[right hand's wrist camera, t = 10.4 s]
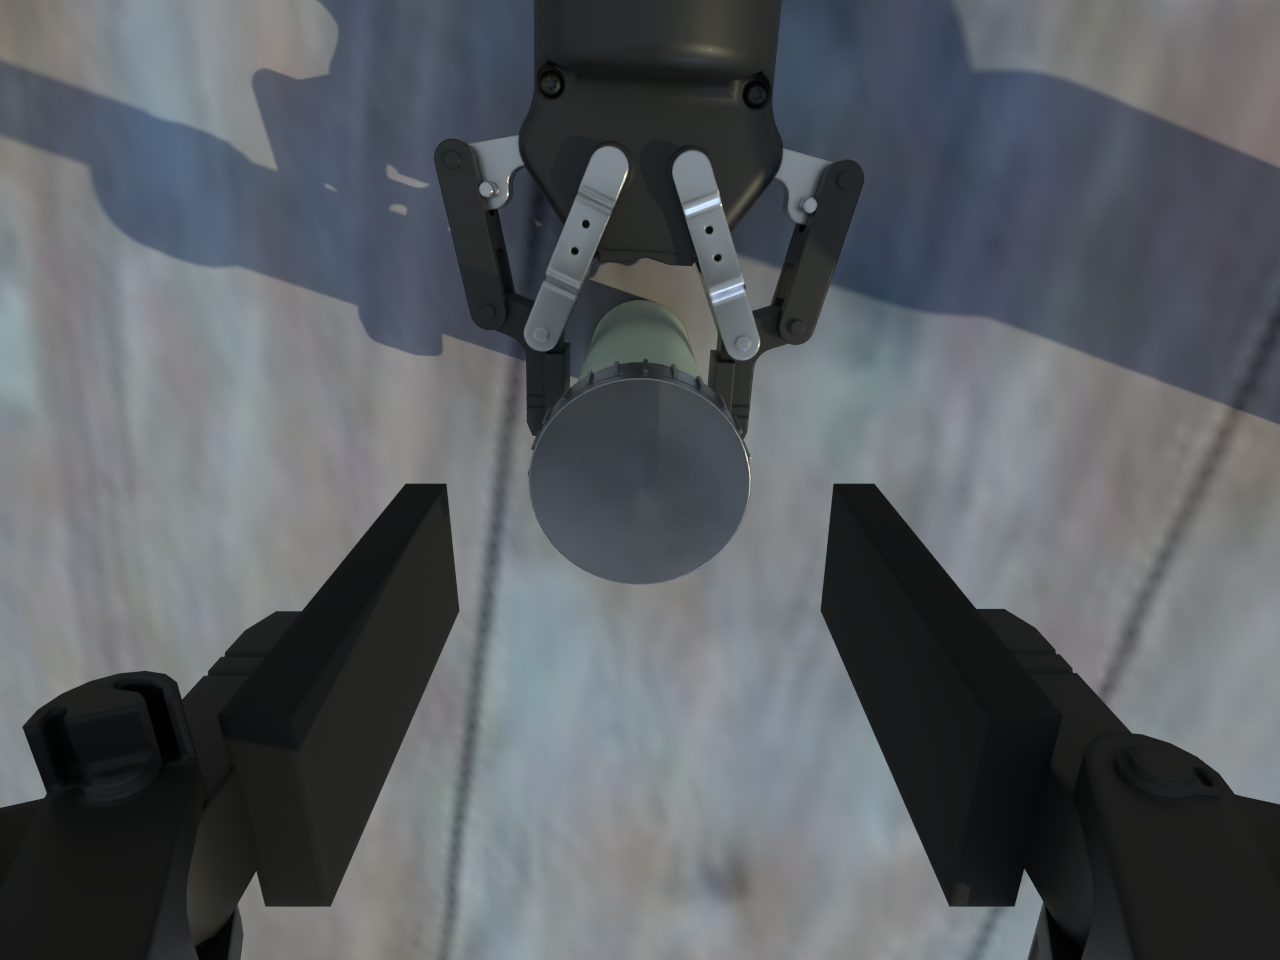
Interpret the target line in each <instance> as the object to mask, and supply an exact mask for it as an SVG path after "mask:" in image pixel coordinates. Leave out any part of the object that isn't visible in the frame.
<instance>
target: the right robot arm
mask: <svg viewBox="0 0 1280 960" xmlns="http://www.w3.org/2000/svg"><path fill="white" fill-rule="evenodd" d="M458 613H459V603H458V593H457V583H456V574H455V564H454V554H453V544H452V534H451V524H450V515H449V505H448V495H447V485H446V484H405V485H404V487H403V488H402V489H401V490H400V491H399V493H398V494H397V495H396V496H395V498H394V499H393V500H392V501H391V502H390V504H389V505H388V506H387V507H386V509H385V510H384V511H383V512H382V514H381V515H380V516H379V517H378V518H377V520H376V521H375V522H374V523H373V525H372V526H371V527H370V528H369V530H368V531H367V532H366V533H365V534H364V536H363V537H362V538H361V539H360V541H359V542H358V543H357V544H356V545H355V547H354V548H353V549H352V550H351V552H350V553H349V554H348V555H347V557H346V558H345V559H344V560H343V561H342V563H341V564H340V565H339V566H338V568H337V569H336V570H335V571H334V573H333V574H332V575H331V576H330V577H329V579H328V580H327V581H326V582H325V584H324V585H323V586H322V587H321V588H320V590H319V591H318V592H317V593H316V595H315V596H314V597H313V598H312V600H311V601H310V602H309V603H308V604H307V606H306V607H305V608H304V609H303V611H276V612H274V613H273V614H271V615H270V616H268V617H266V618H265V619H263V620H261V621H260V622H258V623H256V624H255V625H253V626H252V627H250V628H248V629H247V630H245V631H244V632H243V633H242V634H241V636H240V637H239V638H238V639H237V640H236V641H235V642H234V643H233V644H232V645H231V647H230V648H229V649H228V650H227V651H226V652H225V657H221V658H220V659H219V660H218V661H217V662H216V663H215V664H214V665H213V666H212V667H211V669H210V670H209V671H208V676H203V677H202V678H201V680H200V681H199V682H198V683H197V684H196V685H195V686H194V687H193V688H192V689H191V691H190V692H189V693H188V694H187V695H186V696H185V697H184V698H183V699H181V695H180V691H179V688H178V684H177V682H176V681H174V680H173V679H172V678H170V677H169V676H167V675H166V674H162V673H155V672H149V671H140V672H129V673H119V674H116V675H112V676H108V677H104V678H101V679H97V680H93V681H90V682H88V683H85V684H83V685H81V686H79V687H76V688H74V689H72V690H69V691H67V692H65V693H63V694H61V695H59V696H58V697H56V698H55V699H53V700H52V701H50V702H49V703H47V704H46V705H44V706H43V707H41V708H40V709H38V710H37V711H36V712H35V713H34V714H33V716H32V717H31V718H30V719H29V720H28V721H27V722H26V723H25V724H24V726H23V730H24V732H25V735H26V738H27V740H28V743H29V746H30V749H31V751H32V754H33V757H34V759H35V762H36V765H37V767H38V770H39V773H40V775H41V778H42V781H43V783H44V786H45V789H46V792H47V794H46V796H45V798H43V799H39V800H34V801H30V802H25V803H21V804H16V805H12V806H7V807H2V808H0V960H240V958H241V950H242V942H243V928H242V921H241V916H240V912H239V909H238V905H237V904H238V902H239V900H240V899H241V897H242V895H243V893H244V892H245V890H246V888H247V886H248V885H249V883H250V881H251V879H252V877H253V876H254V874H255V872H256V871H257V875H258V879H259V883H260V887H261V891H262V895H263V899H264V902H265V906H331V904H332V902H333V899H334V897H335V895H336V893H337V890H338V888H339V886H340V883H341V881H342V879H343V876H344V874H345V872H346V870H347V867H348V865H349V863H350V860H351V858H352V856H353V854H354V851H355V849H356V847H357V844H358V842H359V840H360V837H361V835H362V833H363V831H364V828H365V826H366V824H367V821H368V819H369V817H370V814H371V812H372V810H373V808H374V805H375V803H376V801H377V798H378V796H379V794H380V792H381V789H382V787H383V785H384V782H385V780H386V778H387V775H388V773H389V771H390V769H391V766H392V764H393V762H394V759H395V757H396V755H397V753H398V750H399V748H400V746H401V743H402V741H403V739H404V736H405V734H406V732H407V730H408V727H409V725H410V723H411V720H412V718H413V716H414V714H415V711H416V709H417V707H418V704H419V702H420V700H421V697H422V695H423V693H424V691H425V688H426V686H427V684H428V681H429V679H430V677H431V674H432V672H433V670H434V668H435V665H436V663H437V661H438V658H439V656H440V654H441V652H442V649H443V647H444V645H445V642H446V640H447V638H448V635H449V633H450V631H451V629H452V626H453V624H454V622H455V619H456V617H457V615H458ZM821 613H822V615H823V617H824V619H825V622H826V624H827V626H828V629H829V631H830V633H831V635H832V638H833V640H834V642H835V645H836V647H837V649H838V652H839V654H840V656H841V658H842V661H843V663H844V665H845V668H846V670H847V672H848V674H849V677H850V679H851V681H852V684H853V686H854V688H855V691H856V693H857V695H858V697H859V700H860V702H861V704H862V707H863V709H864V711H865V714H866V716H867V718H868V720H869V723H870V725H871V727H872V730H873V732H874V734H875V736H876V739H877V741H878V743H879V746H880V748H881V750H882V753H883V755H884V757H885V759H886V762H887V764H888V766H889V769H890V771H891V773H892V775H893V778H894V780H895V782H896V785H897V787H898V789H899V792H900V794H901V796H902V798H903V801H904V803H905V805H906V808H907V810H908V812H909V814H910V817H911V819H912V821H913V824H914V826H915V828H916V831H917V833H918V835H919V837H920V840H921V842H922V844H923V847H924V849H925V851H926V854H927V856H928V858H929V860H930V863H931V865H932V867H933V870H934V872H935V874H936V876H937V879H938V881H939V883H940V886H941V888H942V890H943V893H944V895H945V897H946V899H947V902H948V904H949V906H1015V902H1016V899H1017V895H1018V891H1019V887H1020V883H1021V879H1022V875H1023V871H1024V868H1025V870H1026V872H1027V874H1028V875H1029V877H1030V879H1031V881H1032V882H1033V884H1034V886H1035V888H1036V889H1037V891H1038V893H1039V895H1040V896H1041V898H1042V900H1043V905H1042V909H1041V912H1040V916H1039V920H1038V923H1037V927H1036V931H1035V934H1034V938H1033V942H1032V945H1031V949H1030V953H1029V956H1028V960H1280V804H1275V803H1270V802H1266V801H1261V800H1256V799H1252V798H1247V797H1243V796H1239V795H1235V794H1234V793H1233V791H1232V790H1231V789H1230V787H1229V786H1228V785H1227V783H1226V782H1225V781H1224V780H1223V778H1222V777H1221V776H1220V774H1219V773H1217V772H1216V771H1215V770H1213V769H1212V768H1211V767H1210V766H1208V765H1207V764H1206V763H1204V762H1203V761H1202V760H1200V759H1199V758H1198V757H1196V756H1194V755H1192V754H1190V753H1188V752H1186V751H1184V750H1183V749H1181V748H1179V747H1177V746H1175V745H1173V744H1171V743H1168V742H1165V741H1161V740H1158V739H1155V738H1152V737H1149V736H1145V735H1142V734H1133V733H1131V732H1130V731H1129V730H1128V729H1127V727H1126V726H1125V725H1124V724H1123V723H1122V722H1121V721H1120V720H1119V719H1118V718H1117V717H1116V715H1115V714H1114V713H1113V712H1112V711H1111V710H1110V709H1109V708H1108V707H1107V706H1106V705H1105V703H1104V702H1103V701H1102V700H1101V699H1100V698H1099V697H1098V696H1097V695H1096V694H1095V693H1094V691H1093V690H1092V689H1091V688H1090V687H1089V686H1088V685H1087V684H1086V683H1085V682H1084V680H1083V679H1082V678H1081V677H1080V676H1079V675H1078V674H1077V673H1073V671H1072V667H1071V666H1070V665H1069V664H1068V663H1067V662H1066V661H1065V660H1064V659H1063V658H1062V656H1061V655H1060V654H1056V652H1055V651H1056V650H1055V649H1054V648H1053V647H1052V646H1051V644H1050V643H1049V642H1048V641H1047V640H1046V639H1045V638H1044V637H1043V636H1042V635H1041V634H1040V632H1039V631H1038V630H1037V629H1036V628H1035V627H1033V626H1031V625H1030V624H1028V623H1026V622H1025V621H1023V620H1022V619H1020V618H1018V617H1017V616H1015V615H1013V614H1012V613H1010V612H1008V611H1007V610H1005V609H976V608H975V607H974V606H973V604H972V603H971V602H970V601H969V600H968V598H967V597H966V596H965V595H964V593H963V592H962V591H961V590H960V588H959V587H958V586H957V585H956V584H955V582H954V581H953V580H952V579H951V577H950V576H949V575H948V574H947V573H946V571H945V570H944V569H943V568H942V566H941V565H940V564H939V563H938V561H937V560H936V559H935V558H934V557H933V555H932V554H931V553H930V552H929V550H928V549H927V548H926V547H925V545H924V544H923V543H922V542H921V541H920V539H919V538H918V537H917V536H916V534H915V533H914V532H913V531H912V530H911V528H910V527H909V526H908V525H907V523H906V522H905V521H904V520H903V518H902V517H901V516H900V515H899V514H898V512H897V511H896V510H895V509H894V507H893V506H892V505H891V504H890V502H889V501H888V500H887V499H886V498H885V496H884V495H883V494H882V493H881V491H880V490H879V489H878V488H877V487H876V485H875V484H834V485H833V495H832V505H831V515H830V524H829V534H828V544H827V554H826V564H825V574H824V583H823V593H822V603H821Z"/></svg>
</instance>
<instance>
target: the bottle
mask: <svg viewBox="0 0 1280 960" xmlns="http://www.w3.org/2000/svg"><path fill="white" fill-rule="evenodd" d="M643 359H648V362H649V363H657V364H662V365H666V366H670V367H671V365H672V364H675V365H676V367H677V369H679V370H681V371H684V372H686V373H688V374H690V375H692V376H694V377H695V378H696V377H697V376H698V375H699V376H700V373H699V370H698V367H697V364H696V361H695V358H694V355H693V352H692V349H691V346H690V343H689V340H688V337H687V334H686V332H685V329H684V327H683V325H682V323H681V322H680V320H679V319H678V318H677V317H676V316H675V315H674V314H673V313H672V312H671V311H670V310H669V309H667V308H666V307H664V306H662V305H660V304H658V303H655V302H651V301H645V300H635V301H629V302H625V303H622V304H620V305H618V306H616V307H614V308H613V309H611V310H610V311H609V312H608V313H606V315H605V316H604V317H603V318H602V319H601V320H600V322H599V323H598V325H597V327H596V329H595V332H594V334H593V337H592V340H591V343H590V346H589V349H588V352H587V355H586V358H585V361H584V364H583V367H582V370H581V373H580V376H579V379H578V381H580V380H581V379H583V378H585V377H586V376H587V373H588V371H590V370H592V371H593V373H594V372H596V371H599V370H601V369H603V368H606V367H610V366H613V365H614V363H615V362H616V361H619V363H620V364H623V363H630V362H643ZM700 377H701V376H700Z"/></svg>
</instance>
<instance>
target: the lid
mask: <svg viewBox="0 0 1280 960" xmlns="http://www.w3.org/2000/svg"><path fill="white" fill-rule="evenodd" d="M542 424H544V426H543V429H542V431H538V433H537V436H536V438H535V440H534V442H533V445H532V448H531V449H532V450H534V452H533V454H532V459H531V464H530V469H529V471H528V477H529V490H530V497H531V502H532V507H533V510H534V513H535V515H536V518H537V521H538V523H539V524H540V526H541V528H542V530H543V532H544V533H545V535H546V536H547V538H548V539H549V540H550V542H551V543H552V544H553V545H554V546H555V548H556V549H557V550H558V551H559V552H560V553H561V554H562V555H563V556H565V557H566V558H567V559H568V560H569V561H571V562H572V563H573V564H575V565H577V566H578V567H580V568H581V569H583V570H585V571H587V572H589V573H591V574H593V575H595V576H598V577H601V578H604V579H607V580H611V581H615V582H620V583H628V584H652V583H660V582H665V581H669V580H673V579H676V578H679V577H682V576H684V575H687V574H689V573H691V572H693V571H695V570H697V569H699V568H701V567H702V566H703V565H705V564H706V563H708V562H709V561H711V560H712V559H713V558H714V557H715V556H716V555H718V554H719V553H720V552H721V551H722V550H723V549H724V548H725V546H726V545H727V544H728V543H729V542H730V541H731V539H732V538H733V536H734V535H735V533H736V532H737V530H738V528H739V526H740V524H741V522H742V520H743V518H744V516H745V513H746V509H747V506H748V502H749V497H750V492H751V484H752V483H751V472H750V463H749V460H751V457H750V454H749V452H748V449H747V447H746V445H745V442H744V440H743V441H742V439H741V436H740V434H742V433H743V432H742V429H741V427H740V425H739V423H738V420H737V418H736V416H733V417H732V416H731V414H730V412H729V410H728V409H727V406H726V404H725V402H724V399H723V397H722V395H721V394H720V393H719V394H718V395H716V394H715V393H714V392H713V391H712V390H711V389H710V388H709V387H708V386H707V385H705V384H704V383H703V381H702V378H701V377H700V376H699V375H698V376H697V377H696V378H695V377H694V376H692V375H690V374H688V373H686V372H684V371H681V370H679V369H677V367H676V365H675V364H672V365H671V367H670V366H666V365H662V364H657V363H649V362H648V359H643V362H630V363H623V364H620V363H619V361H616V362H615V363H614V365H613V366H610V367H606V368H603V369H601V370H599V371H596V372H594V373H593V371H592V370H590V371H588V373H587V376H586V377H585V378H583V379H581V380H580V381H578V382H577V383H576V384H575V385H573V386H572V387H571V388H570V387H569V386H567V387H566V388H565V390H564V392H563V395H562V397H561V398H560V399H559V400H558V402H557V403H556V404H555V406H554V407H553V408H552V407H551V406H550V407H549V409H548V411H547V413H546V415H545V418H544V420H543V422H542Z"/></svg>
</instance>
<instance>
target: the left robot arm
mask: <svg viewBox="0 0 1280 960" xmlns="http://www.w3.org/2000/svg"><path fill="white" fill-rule="evenodd" d="M781 1H782V0H534V94H533V99H532V103H531V106H530V109H529V112H528V114H527V116H526V118H525V120H524V122H523V123H522V126H521V128H520V132H519V135H515V136H509V137H503V138H498V139H492V140H486V141H480V142H475V143H466V142H463V141H460V140H457V139H447V140H444V141H443V142H441V143H440V144H439V145H438V147H437V148H436V151H435V155H434V161H435V166H436V170H437V174H438V178H439V183H440V187H441V191H442V195H443V200H444V204H445V208H446V212H447V216H448V221H449V225H450V229H451V233H452V238H453V242H454V246H455V250H456V254H457V259H458V263H459V267H460V271H461V276H462V280H463V284H464V288H465V292H466V297H467V301H468V305H469V309H470V314H471V317H472V319H473V321H474V322H475V324H476V325H477V326H479V327H480V328H482V329H486V330H493V329H494V330H496V331H499V332H501V333H504V334H506V335H508V336H511V337H513V338H515V339H516V340H517V341H519V342H520V344H521V345H522V346H523V348H524V350H525V353H526V380H527V423H528V426H529V428H530V431H531V433H532V435H533V436H537V433H538V431H542V429H543V426H544V424H542V422H543V420H544V418H545V415H546V413H547V411H548V409H549V407H550V406H551V407H552V408H553V407H554V406H555V404H556V403H557V402H558V400H559V399H560V398H561V397H562V395H563V392H564V390H565V388H566V387H567V386H569V387H570V343H564V333H565V327H566V325H567V323H568V320H569V318H570V315H571V313H572V311H573V308H574V306H575V304H576V301H577V299H578V296H579V294H580V292H581V289H582V287H583V285H584V283H585V280H586V278H587V276H588V274H589V271H590V269H591V267H592V264H593V262H594V259H595V258H597V259H599V262H618V263H623V262H627V261H632V260H636V259H640V258H650V259H653V260H656V261H659V262H662V263H665V264H668V265H681V266H692V265H693V263H695V264H696V268H697V271H698V274H699V277H700V280H701V283H702V286H703V289H704V291H705V294H706V297H707V300H708V304H709V307H710V310H711V313H712V316H713V319H714V323H715V326H716V329H717V332H718V339H717V350H711V351H710V363H709V376H708V387H709V388H710V389H711V390H712V391H713V392H714V393H715V394H716V395H718V394H719V393H720V394H721V395H722V397H723V399H724V402H725V404H726V406H727V409H728V410H729V412H730V414H731V416H732V417H733V416H736V418H737V420H738V423H739V425H740V427H741V429H742V432H743V433H742V434H740V436H741V439H742V441H743V439H744V437H745V435H746V433H747V429H748V419H749V418H748V417H749V409H750V399H751V390H752V380H753V370H754V365H755V362H756V360H757V359H758V357H759V356H760V355H761V354H762V353H764V352H765V351H767V350H769V349H772V348H775V347H779V346H782V345H785V344H792V345H799V344H802V343H804V342H806V341H807V340H809V339H810V337H811V336H812V334H813V332H814V329H815V326H816V323H817V320H818V317H819V314H820V311H821V308H822V305H823V302H824V300H825V297H826V294H827V291H828V288H829V285H830V282H831V279H832V276H833V273H834V270H835V267H836V264H837V261H838V258H839V255H840V252H841V249H842V246H843V243H844V240H845V237H846V234H847V231H848V228H849V225H850V222H851V219H852V216H853V213H854V210H855V207H856V204H857V201H858V198H859V195H860V192H861V189H862V186H863V182H864V174H863V171H862V168H861V167H860V166H859V164H857V163H856V162H854V161H852V160H835V161H827V160H824V159H820V158H817V157H813V156H810V155H806V154H803V153H799V152H795V151H792V150H788V149H785V148H783V144H782V140H781V137H780V134H779V132H778V129H777V127H776V124H775V120H774V116H773V109H772V93H773V83H774V72H775V62H776V52H777V42H778V32H779V22H780V11H781ZM524 167H526V168H527V170H528V171H529V173H530V175H531V176H532V178H533V179H534V181H535V182H536V184H537V185H538V187H539V188H540V190H541V191H542V193H543V194H544V196H545V197H546V199H547V200H548V202H549V203H550V205H551V206H552V208H553V210H554V211H555V213H556V214H557V216H558V217H559V219H560V220H561V222H562V223H563V225H564V228H563V230H562V233H561V235H560V238H559V240H558V243H557V245H556V248H555V250H554V253H553V255H552V258H551V260H550V263H549V265H548V268H547V270H546V273H545V276H544V280H543V283H542V286H541V288H540V291H539V293H538V296H537V298H536V301H533V300H530V299H528V298H525V297H523V296H521V295H518V294H516V293H515V289H514V284H513V280H512V275H511V270H510V266H509V261H508V256H507V251H506V247H505V242H504V237H503V233H502V228H501V223H500V219H499V214H498V209H500V208H503V207H505V206H506V205H507V204H508V203H509V202H510V201H511V199H512V196H513V179H514V177H515V175H516V173H517V172H518V171H519V170H520V169H522V168H524ZM773 179H774V180H776V181H777V182H778V183H779V184H780V185H781V187H782V189H783V193H784V200H783V211H784V214H785V216H786V217H787V218H788V219H789V220H790V221H792V222H794V223H796V225H795V229H794V232H793V235H792V238H791V241H790V245H789V248H788V251H787V254H786V258H785V261H784V264H783V267H782V270H781V274H780V277H779V280H778V283H777V287H776V290H775V293H774V296H773V299H772V303H771V305H770V306H767V307H764V308H761V309H757V310H754V311H752V310H751V306H750V303H749V300H748V296H747V293H746V288H745V282H744V278H743V274H742V271H741V267H740V264H739V261H738V257H737V254H736V251H735V247H734V244H733V240H732V237H731V234H730V233H731V232H732V230H733V229H734V228H735V227H736V225H737V224H738V223H739V222H740V220H741V219H742V218H743V217H744V215H745V214H746V213H747V212H748V210H749V209H750V208H751V207H752V205H753V204H754V203H755V202H756V200H757V199H758V198H759V197H760V195H761V194H762V193H763V192H764V190H765V189H766V188H767V187H768V185H769V184H770V183H771V182H772V180H773Z"/></svg>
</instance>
